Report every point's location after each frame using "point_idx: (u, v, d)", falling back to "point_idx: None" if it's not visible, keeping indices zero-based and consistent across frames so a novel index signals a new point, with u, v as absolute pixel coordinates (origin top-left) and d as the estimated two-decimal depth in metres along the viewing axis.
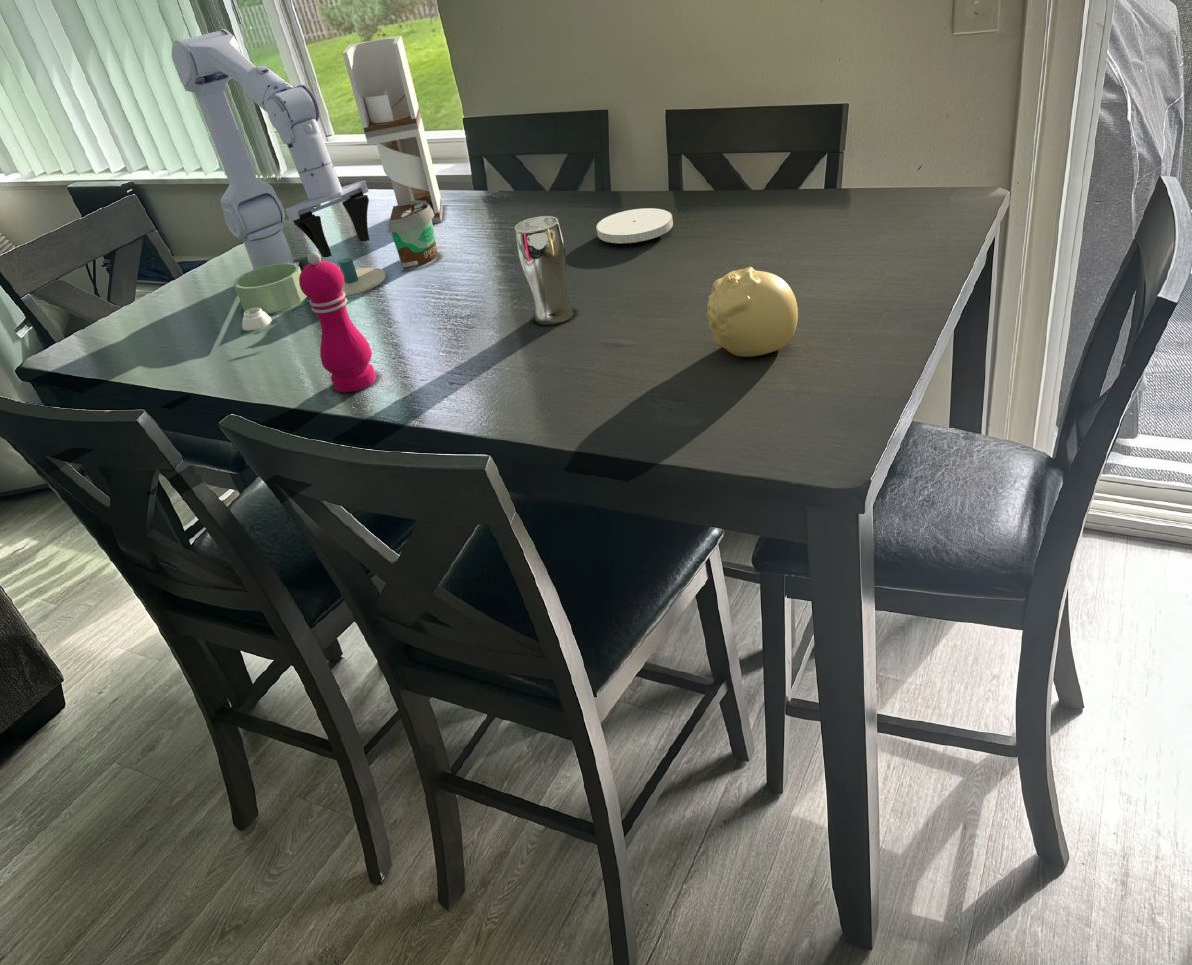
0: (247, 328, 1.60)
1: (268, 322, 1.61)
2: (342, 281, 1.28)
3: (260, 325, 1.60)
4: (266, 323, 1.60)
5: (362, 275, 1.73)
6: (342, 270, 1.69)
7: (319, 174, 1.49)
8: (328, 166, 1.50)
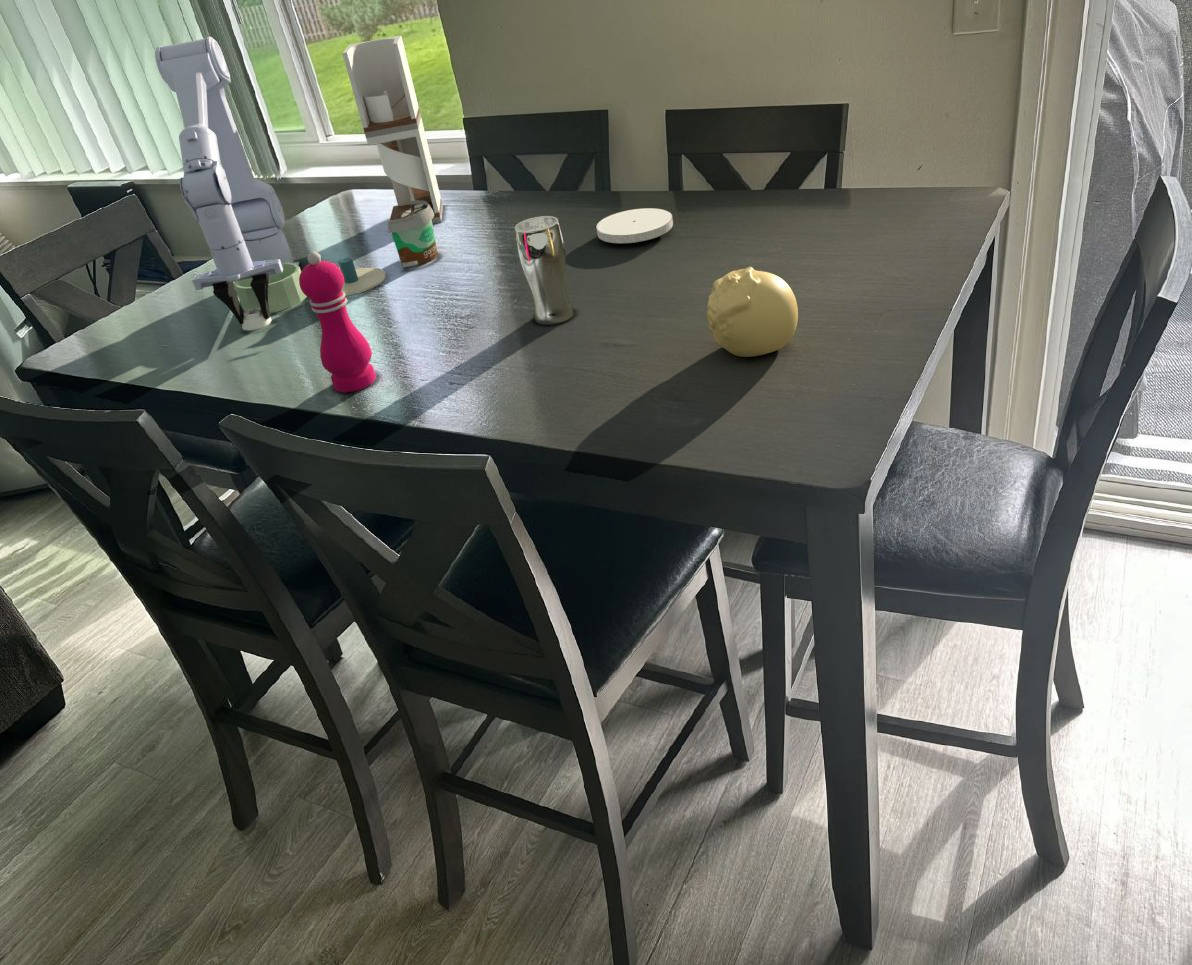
0: (247, 328, 1.60)
1: (268, 322, 1.61)
2: (342, 281, 1.28)
3: (260, 325, 1.60)
4: (266, 323, 1.60)
5: (362, 275, 1.73)
6: (342, 270, 1.69)
7: (219, 256, 1.52)
8: (229, 249, 1.52)
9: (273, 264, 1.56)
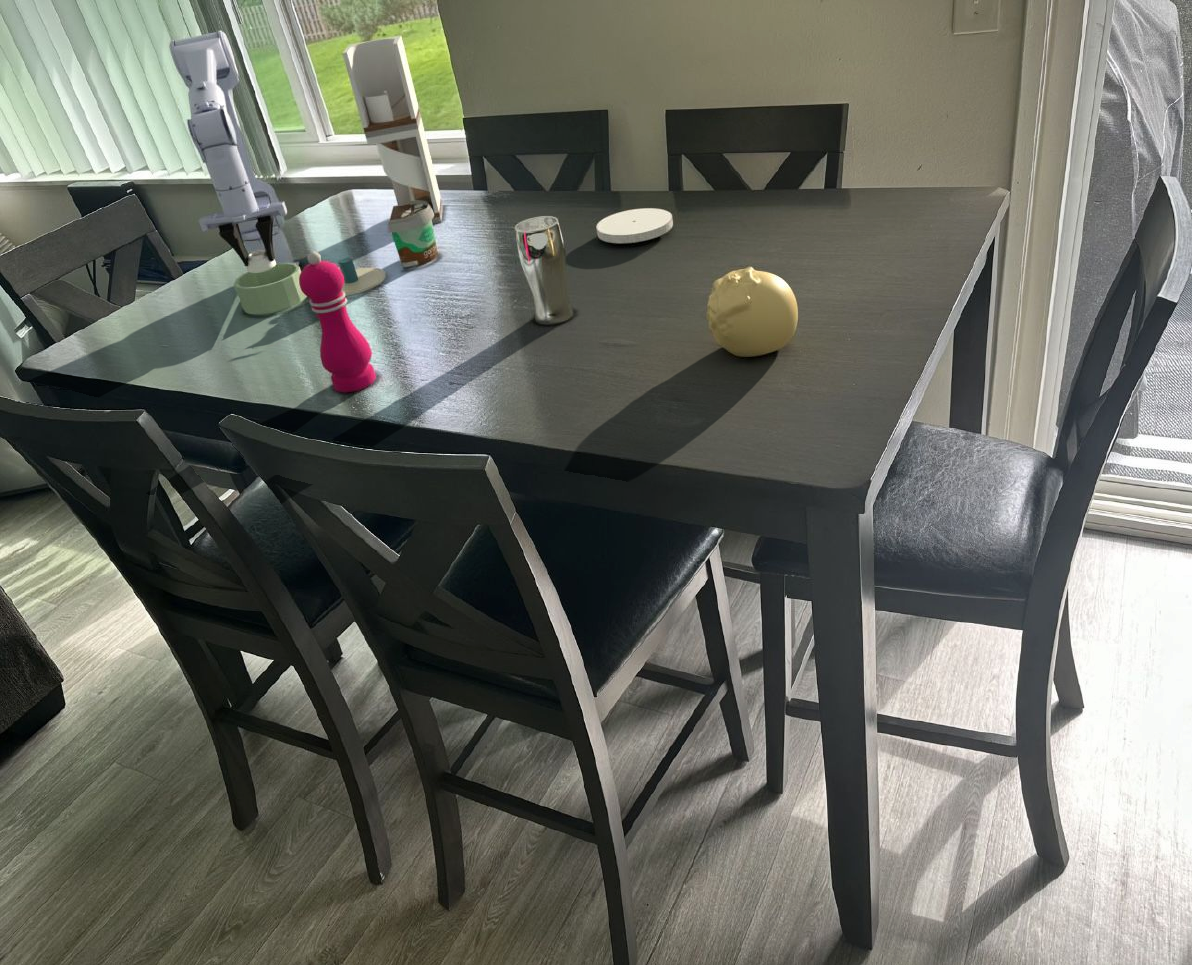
0: (252, 269, 1.64)
1: (272, 264, 1.65)
2: (342, 281, 1.28)
3: (265, 267, 1.64)
4: (271, 265, 1.64)
5: (362, 275, 1.73)
6: (342, 270, 1.69)
7: (225, 196, 1.56)
8: (235, 190, 1.56)
9: (277, 206, 1.60)
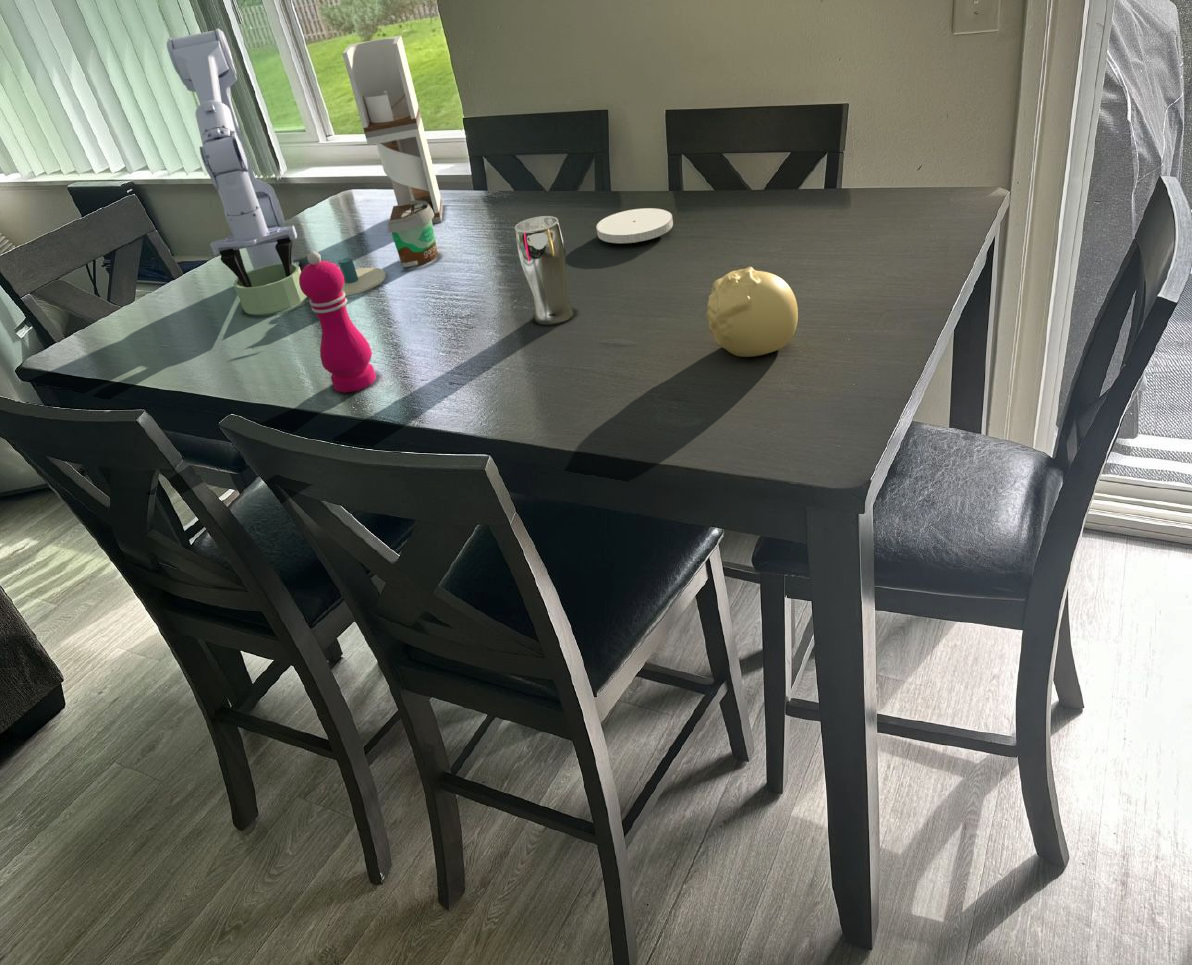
0: None
1: None
2: (342, 281, 1.28)
3: None
4: None
5: (362, 275, 1.73)
6: (342, 270, 1.69)
7: (236, 221, 1.59)
8: (246, 215, 1.59)
9: (288, 230, 1.63)
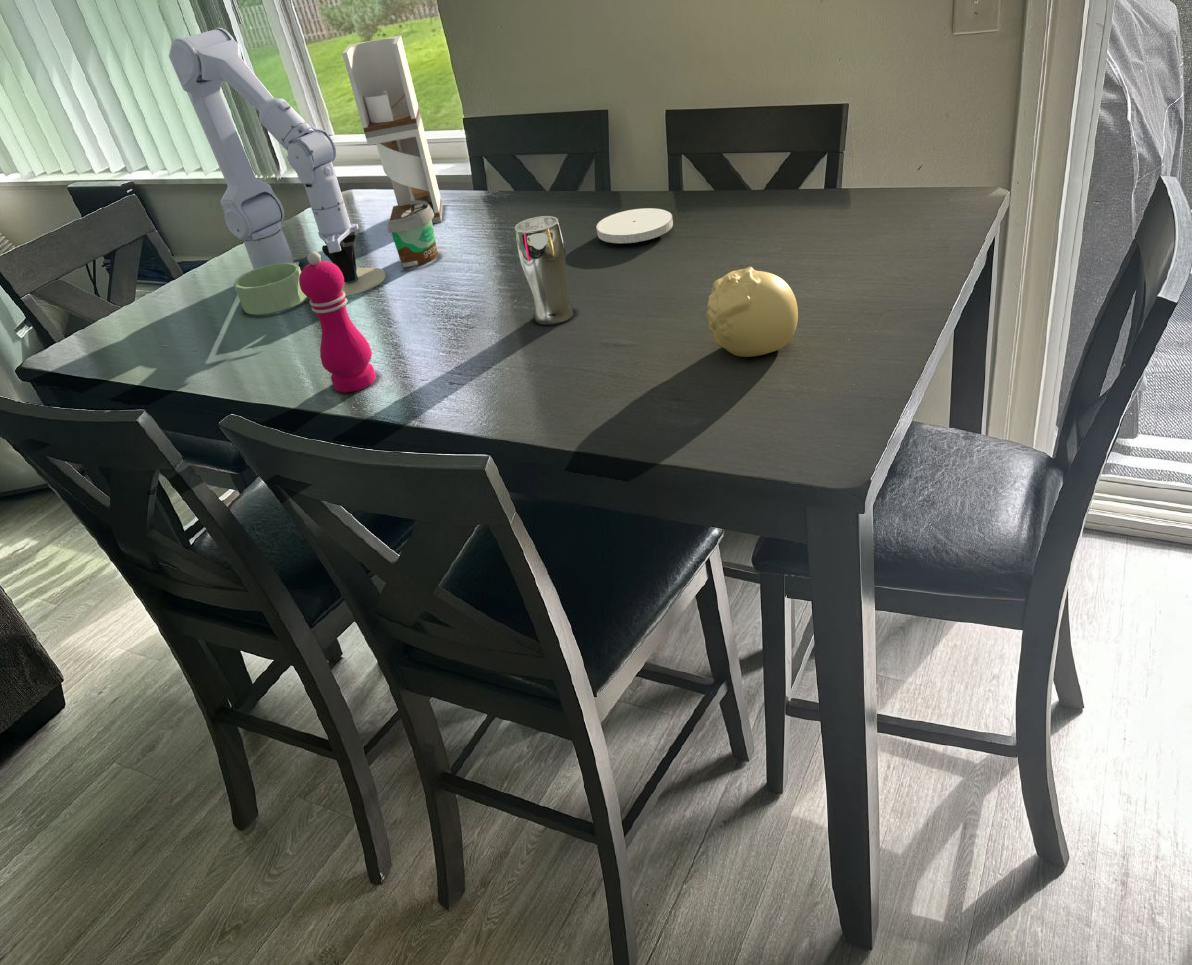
0: None
1: None
2: (342, 281, 1.28)
3: None
4: None
5: (362, 275, 1.73)
6: None
7: (343, 208, 1.63)
8: (343, 201, 1.65)
9: None
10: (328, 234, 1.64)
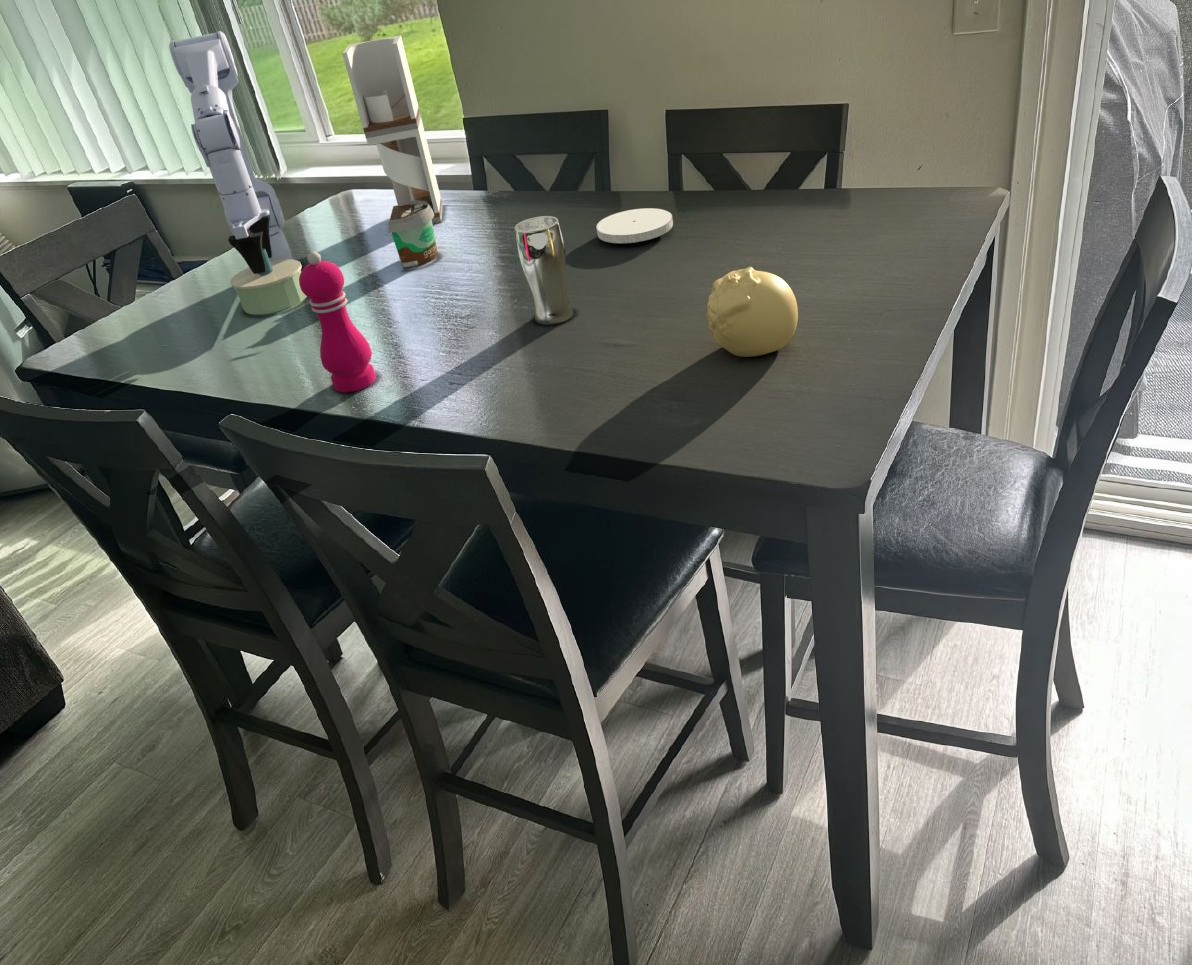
0: None
1: None
2: (342, 281, 1.28)
3: None
4: None
5: (278, 266, 1.69)
6: None
7: (252, 193, 1.59)
8: None
9: None
10: (236, 220, 1.59)
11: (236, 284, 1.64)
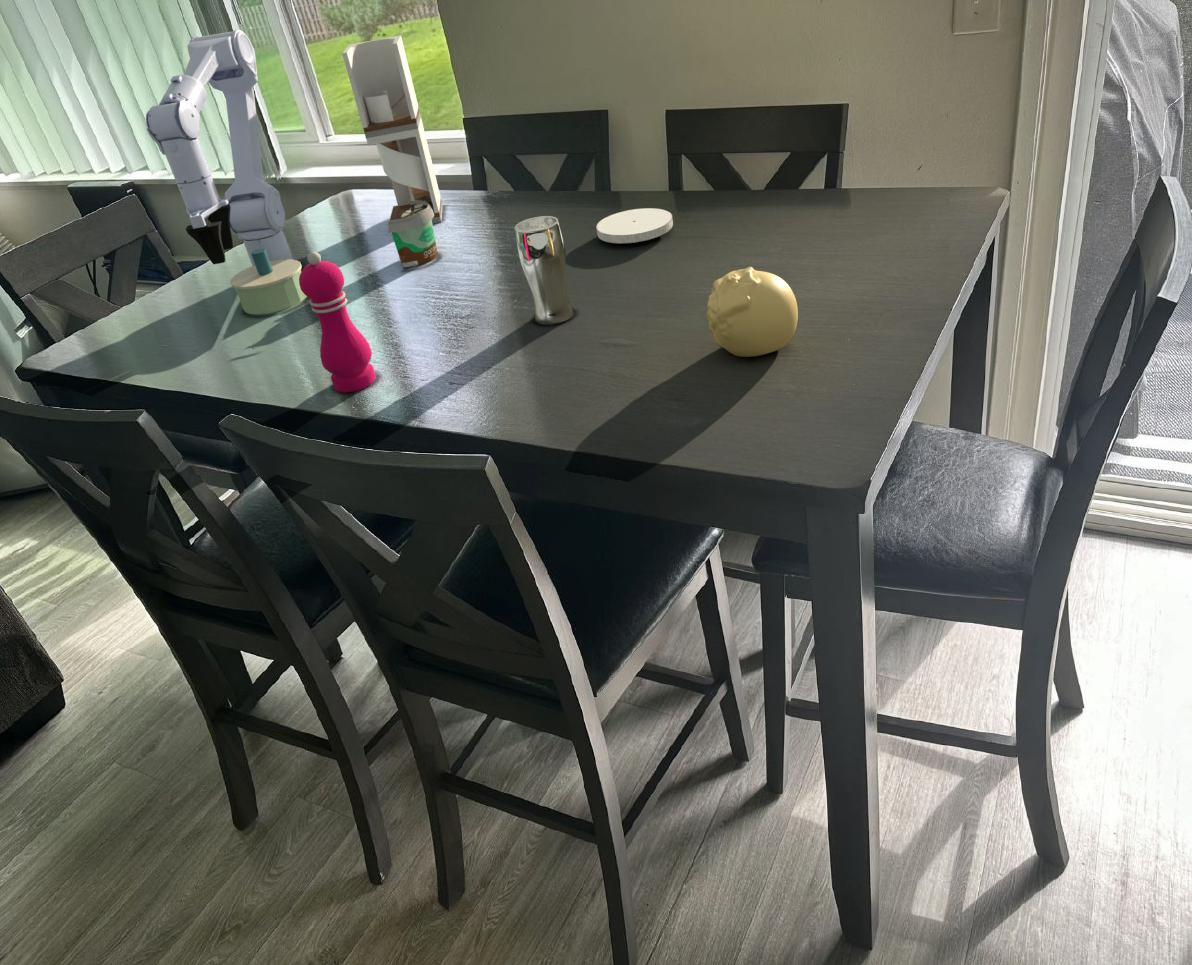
0: None
1: None
2: (342, 281, 1.28)
3: None
4: None
5: (278, 266, 1.69)
6: (255, 261, 1.65)
7: (210, 183, 1.57)
8: None
9: None
10: (194, 209, 1.57)
11: (236, 284, 1.64)
